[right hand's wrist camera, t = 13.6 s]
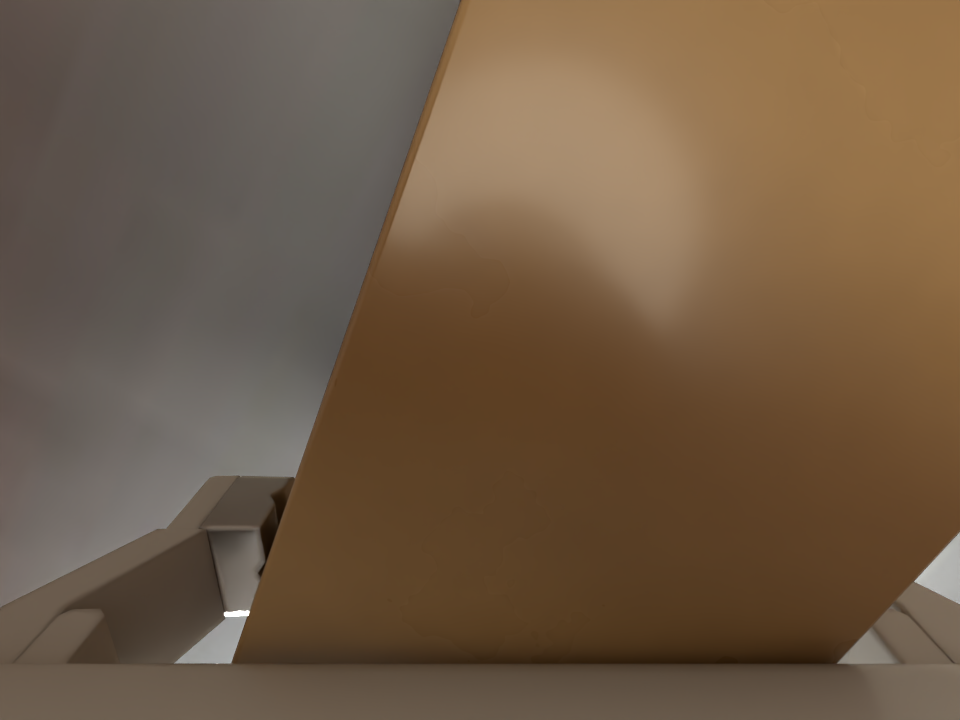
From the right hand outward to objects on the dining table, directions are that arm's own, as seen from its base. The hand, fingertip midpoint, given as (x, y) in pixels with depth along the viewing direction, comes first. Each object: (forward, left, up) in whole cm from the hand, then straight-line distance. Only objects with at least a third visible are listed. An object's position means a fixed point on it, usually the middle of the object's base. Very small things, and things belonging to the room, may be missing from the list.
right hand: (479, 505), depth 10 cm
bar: (+2, +9, -4) cm, 9 cm away
